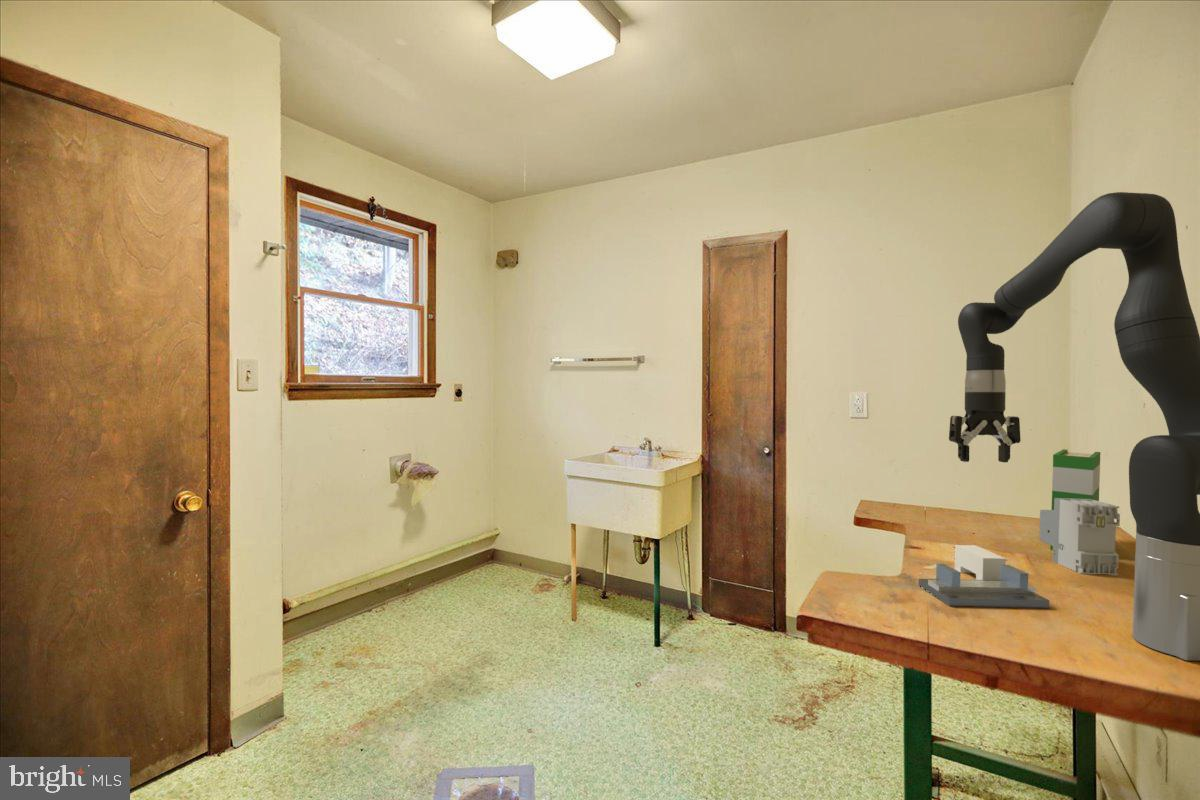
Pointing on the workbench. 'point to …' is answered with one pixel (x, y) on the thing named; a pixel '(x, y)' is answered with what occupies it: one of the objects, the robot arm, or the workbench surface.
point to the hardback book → (1075, 476)
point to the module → (978, 562)
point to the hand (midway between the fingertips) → (983, 461)
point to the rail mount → (984, 589)
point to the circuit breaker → (1081, 534)
